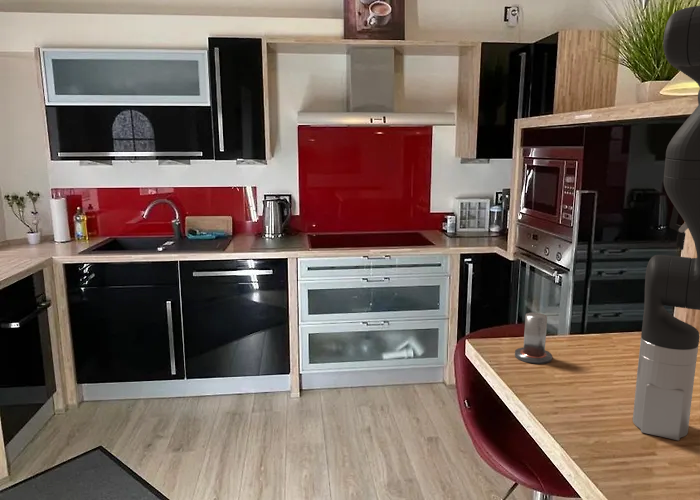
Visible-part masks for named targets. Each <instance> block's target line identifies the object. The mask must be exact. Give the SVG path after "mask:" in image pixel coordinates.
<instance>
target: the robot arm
mask: <svg viewBox="0 0 700 500" xmlns="http://www.w3.org/2000/svg"><path fill="white" fill-rule="evenodd" d="M662 43H663V52H664V56H665V59H666V60H667V62H668V64H670V65H671V66H672V67H673V68H675V69H676V70H678V71H680V72H681V73H682V74H684V75H685V76H687V77H689V78H690V79H691V80H693V81H694V82H696V84H697V85H698V87H699V88H700V5H693V6H689V7H684V8H681V9H678V10H677V11H675V12H673V13H672V14H671V15H670V17H668V20H667V22H666V24H665V28H664V33H663V42H662ZM697 93H698V94H697V106H696V108H695V109H694V111H692V113H691V114H690V116H688V117H687V118H686V120H685V121H684V122H683V124H682V125H681V126H680V127H679V129H677V131H676V132H675V134H674V135H673V136H672V138H671V140H670V141H669V143H668V145H667V146H666V147H667V148H666V151H665V160H664V168H663V169H664V172H663V187H664V190H665V192H666V194H667V197H668V198H669V200H670V201H671V203H672V205H673V207H672V213H671V217H670V220H669V228H670V229H671V230H674V231H676V232H677V237H676V242H675V244H676V247H677V248H678V250H679V251H683V250H684V246H685V241H686V239H685V238H686V234H687V233H686V231H687V230H689V232H690V235H691V237H692V240H693V243H694V246H695V252H696V257H687V256H686V257H685V256H676V255H667V254H655V255H653V256H651V257H650V259H648V260H649V261H648V262H647V265H646V269H645V279H644V301H643V303H644V304H643V317H642V327H641V335H640V345H639V351H638V352H639V353H638V354H639V355H638V364H637V371H636V372H637V373H636V381H635V392H634V403H633V414H632V422H633V424H634V425H635V427H636V428H639V429H640V433H644V434H648V435H652V436H657V437H661V438H666V439H669V440H670V439H671V440H675V441H680V439H681V438H684V437H685V436H687V435H688V434H689V427H690V418H691V417H690V416H691V408H692V401H693V391H694V386H695V385H694V384H695V383H694V382H695V376H696V367H697V360H698V353H699V352H698V351H699V346H700V345H699V343H700V332H699V330H698V329H697V328H696V327H694V326H693V325H691V324H690V323H688V322H685V321H684V320H681V319H679V318H677V317H675V316H674V315H673V314H672V313H670V312H669V311H668V310H667V309H666V308H665V306H667V307H674V308H681V309H688V310H695V311H696V310H697V311H700V89H699V90H698V92H697ZM679 215H680V216H681V218H682V220H683V221H684V223H682V225H680V224H677V223H678V217H679Z"/></svg>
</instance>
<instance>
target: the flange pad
mask: <svg viewBox="0 0 700 500" xmlns="http://www.w3.org/2000/svg"><path fill="white" fill-rule="evenodd" d="M523 348H524V346H523V347H518V348H516V349H515V352H514V357H515V358H516V359H517V360H519V361H521V362H524V363H528V364H533V365H543V364H545V365H546V364H549V363H551V362H552V360H553V355H552V353H551V352H550V351H548V350H546V349H545V355H544V356H541V357H533V356H528V355H526V354H524V353H523Z"/></svg>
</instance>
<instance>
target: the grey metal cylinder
mask: <svg viewBox="0 0 700 500" xmlns="http://www.w3.org/2000/svg"><path fill="white" fill-rule="evenodd" d="M547 325H548V316H547V315H546V314H544V313H540V312H527V313H525V316H524V334H523V347H524V348H523V347H522V348H523V353H524V354H526V355H528V356H533V357H541V356H544V355H545V350H546V341H547V339H546V338H547Z"/></svg>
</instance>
